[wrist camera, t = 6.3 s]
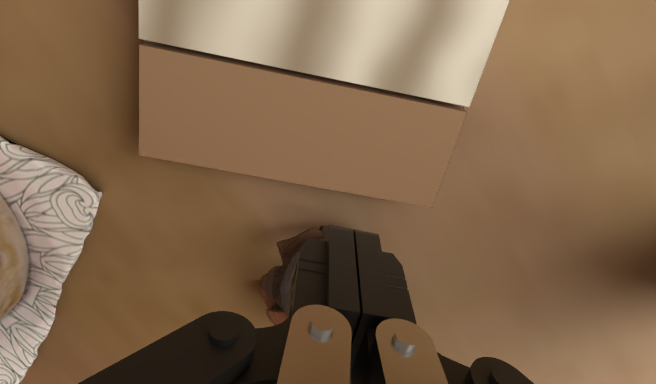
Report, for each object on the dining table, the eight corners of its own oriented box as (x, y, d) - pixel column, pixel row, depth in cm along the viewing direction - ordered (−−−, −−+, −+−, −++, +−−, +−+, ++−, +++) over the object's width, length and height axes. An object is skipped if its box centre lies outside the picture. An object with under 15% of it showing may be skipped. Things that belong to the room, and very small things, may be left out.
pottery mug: (231, 258, 35) (238, 278, 27) (324, 196, 37) (355, 198, 29) (307, 370, 37) (334, 419, 29) (391, 305, 39) (438, 335, 31)
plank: (502, -18, 25) (515, -17, 23) (460, 97, 28) (469, 107, 26) (152, -102, 23) (137, -107, 21) (151, 33, 26) (138, 38, 24)
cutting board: (518, -56, 24) (539, -59, 22) (428, 198, 32) (436, 215, 30) (149, -149, 22) (128, -163, 20) (146, 146, 30) (130, 160, 28)
